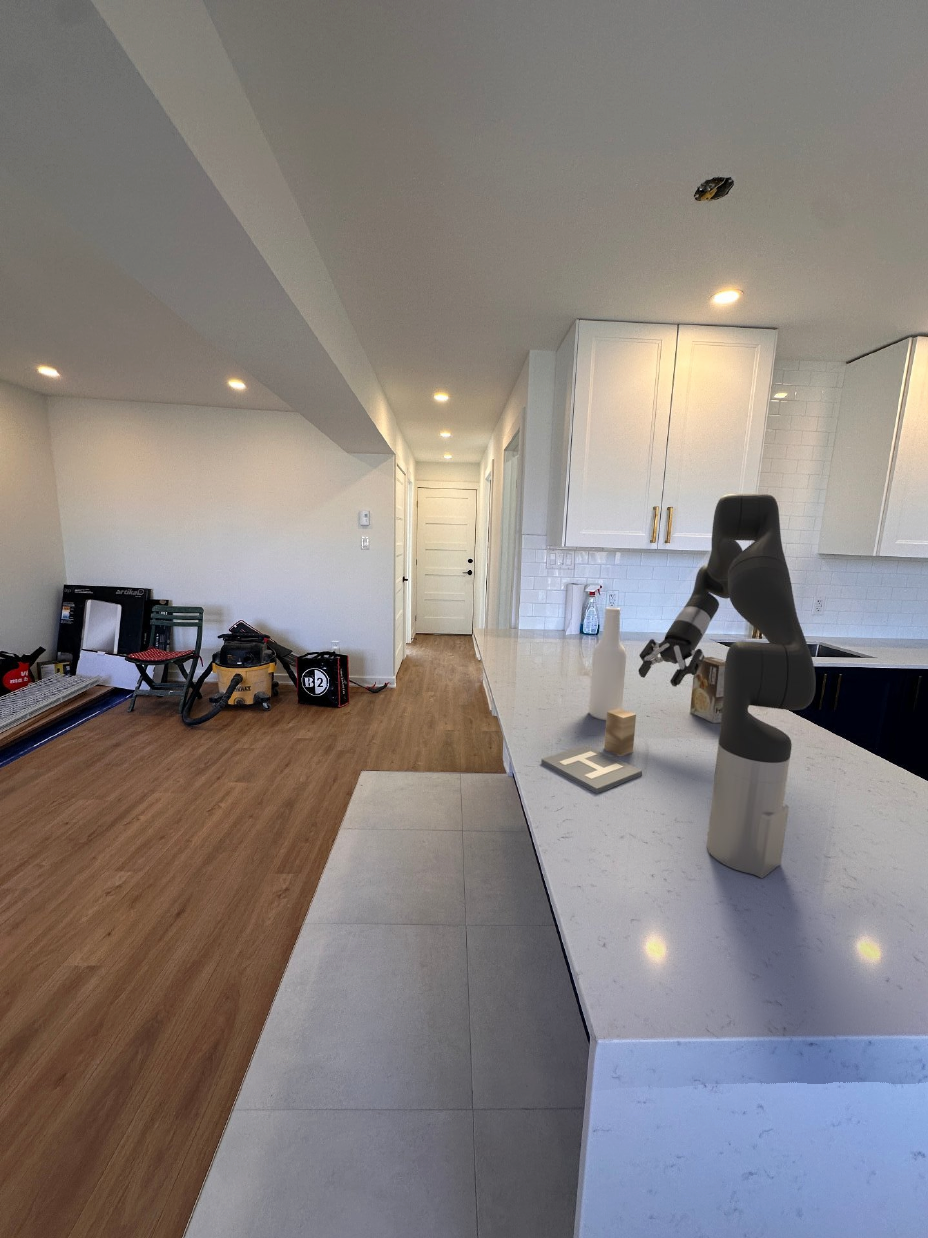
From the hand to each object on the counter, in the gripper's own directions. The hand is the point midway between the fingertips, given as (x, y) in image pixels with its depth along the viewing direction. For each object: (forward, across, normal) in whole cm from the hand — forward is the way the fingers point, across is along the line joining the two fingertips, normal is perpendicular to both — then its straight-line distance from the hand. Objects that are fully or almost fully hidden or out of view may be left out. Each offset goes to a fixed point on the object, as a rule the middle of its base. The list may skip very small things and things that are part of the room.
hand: (656, 680), depth 118 cm
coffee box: (-9, -1, +31) cm, 32 cm away
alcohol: (+8, -17, +13) cm, 23 cm away
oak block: (+19, 0, +2) cm, 19 cm away
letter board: (+28, +3, -8) cm, 30 cm away
